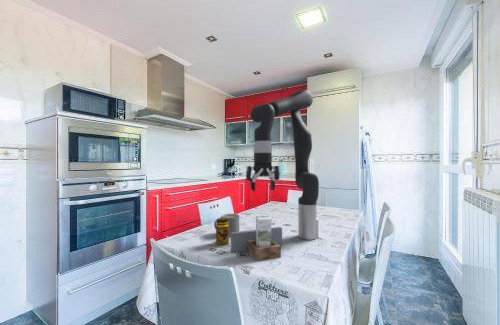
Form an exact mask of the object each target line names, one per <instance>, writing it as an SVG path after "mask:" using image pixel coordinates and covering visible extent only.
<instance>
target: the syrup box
mask: <svg viewBox="0 0 500 325" xmlns="http://www.w3.org/2000/svg"><path fill="white" fill-rule="evenodd" d="M255 223H256V224H255V230H256V247H257V248H261V247H268V246H271V228H272V218H271V217H270V216H269V215H256V216H255Z"/></svg>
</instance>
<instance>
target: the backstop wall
mask: <svg viewBox="0 0 500 325" xmlns="http://www.w3.org/2000/svg"><path fill="white" fill-rule="evenodd" d="M254 239H256V229H250V230H249V229H248V230H242V231H240V230H239V232H231V237H230V242H231V244H230V252H231V253H238V252H247V240H254ZM271 239H272V240H273V241H275V242H276V243H278V244H279V245H280V246H281V247H282V246H283V228H282V227H281V226H280V227H278V226H277V227H271Z"/></svg>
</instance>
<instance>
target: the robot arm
mask: <svg viewBox="0 0 500 325" xmlns="http://www.w3.org/2000/svg"><path fill="white" fill-rule="evenodd" d="M313 101H314V100H313V94H312V92H311V91H309V90H308V89H301V90H298V91H295V92H293V93H291V94H289V96H288V97H285V98H278V99H277V100H273V101H270V102H268V103H264V104H259V105H256V106H254V107H252V108H251V110H250V115H249V116H250V119H251V120H252V121H253V122H254V123H260V125H259V126H258V127H256V128H255V129H254V132H253V133H254V134H253V135H254V136H253V137H254V139H253V140H254V143H253V166H251V165H247V166H246V170H245V171H246V175H245V179H246V181H248V182H250V190H251V191H252V192H256V180H257V179H258V178H259V177H267V178H268V179H269V181H270V182H269V184H270V185H269V188H270V189H269V190H270V191H275V189H276V181H278V180H280V168H279V165H272V163H273V162H272V161H273V158H272V155H273V154H272V150H273V149H272V148H273V147H272V134H271V133H272V128H273V124H274V121H275V118H278V117H280V116H282V115H284V114H287V113H290V120H291V125H292V126H291V127H292V138H293V139H292V140H293V149H294V158H295V159H294V161H295V175H294V176H295V178H294V180H295V184H296V187H297V188H298V189H299V190H302V195H301V196H300V197H298V199H297V200H298V201H297V203H298V204H297V207H298V208H297V211H298V212H297V213H298V218H297V220H298V221H297V222H298V224H297V225H298V229H297V230H298V231H297V235H298V236H297V237H298V238H300V239H302V240H309V241H311V240H312V241H313V240H315V239H317V238H319V218H318V215H317V214H318V213H317V212H318V210H317V209H318V207H317V204H318V203H317V202H318V199H319V194H320V192H319V191H320V190H319V188H320V182H319V177H318V176H317V174H315V173H313V172H309V159H310V156H311V152H312V150H313V142H312V141H313V140H312V133H311V131H310V130H309V128H308V126H307V125H306V123H304V120H303V119H302V115H301V110H304V109H305V110H306V109H308V108H309V107H311V105H313V104H312V103H313ZM272 171H273V173H272ZM252 172H254V173H253V174H252Z"/></svg>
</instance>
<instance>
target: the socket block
mask: <svg viewBox="0 0 500 325" xmlns="http://www.w3.org/2000/svg"><path fill="white" fill-rule="evenodd" d="M246 252H247V253H248V255H249V256H251V257H252V259H253V260H255V261H256V262H258V261H263V260H265V261H266V260H269V259H276V258H281V257H282V246H280V245H279V244H278V243H276V242H275V241H273V240H272V239H271V246H268V247H261V248H257V247H256V239H254V240H247V250H246Z"/></svg>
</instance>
